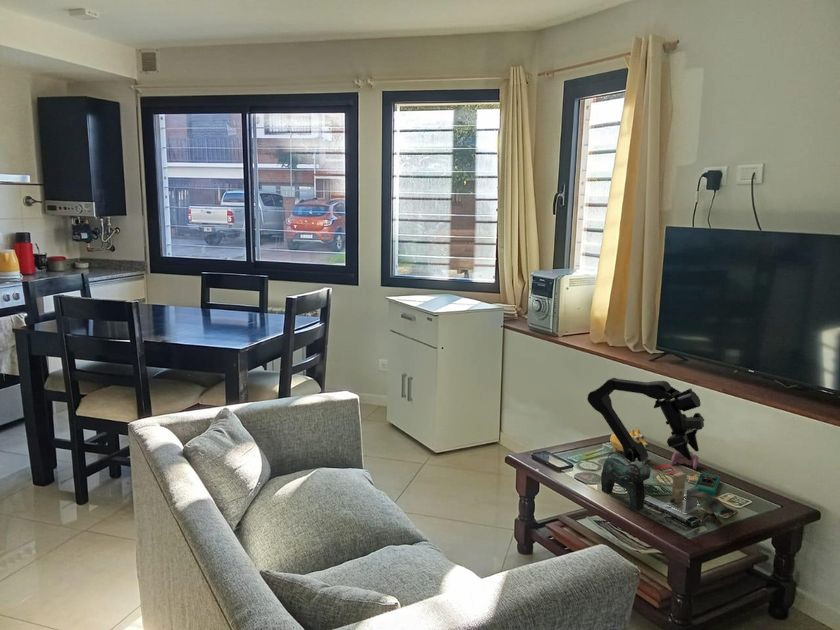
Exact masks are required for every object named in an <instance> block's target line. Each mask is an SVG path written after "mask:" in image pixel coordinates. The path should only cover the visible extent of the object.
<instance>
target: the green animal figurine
mask: <svg viewBox="0 0 840 630" xmlns="http://www.w3.org/2000/svg"><path fill="white" fill-rule="evenodd" d="M628 450H629V451H631V452H632V450H631V449H628ZM628 450H626V452H627V451H628ZM613 454H617V455H615V456H611V455H613ZM632 454H633V452H632ZM610 456H611V457H610ZM651 473H652V472H651V468H650V467H649V465H648V462H647V461H644V462H639V461H638V459H637V458H636V459H635V461H634V462H633V459H632V461H629V460H628V459H626V458H625V456H624V455H622V454H621V453H619V452H618V451H617V452H613V451H611V452H610V453H609V454H608V456H607V459H606V460H604V462H603V466H602V469H601V473H600V477H601V478H600V483H601V485H600V486H601V492H603V493H604V494H606V495H609V494H612V493H613V489H614V486H615V484H617V485H618V486H619V487H620V488H623V489H625V490H626V492H627V494H628V497H629V508H630V509H633V510H634V511H636V512H637V511H638V512H639V511H642V510H644V509H645V507H644V506H645V499H646V498H645V497H646V495H645V482H644V481H646V480H648V479H650V477H651Z"/></svg>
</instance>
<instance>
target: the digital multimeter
mask: <svg viewBox="0 0 840 630" xmlns="http://www.w3.org/2000/svg"><path fill="white" fill-rule="evenodd" d="M720 481H721V478H720V476H718V475H715V474H711V473H706V472H700V473H699V474H698V478H697V479H696V482H695V484H694V485H693V488H694V487H698V488H699V489H698V493H699V492H706V493H707V494H708V495H710V496H712V497H715V495H716V492H717V489H718V487H719V484H720Z"/></svg>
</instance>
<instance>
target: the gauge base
mask: <svg viewBox="0 0 840 630" xmlns="http://www.w3.org/2000/svg"><path fill="white" fill-rule="evenodd" d="M698 489H699V488H698V487H694V486H693V487H692V488H689V489H686V495H685V496H686V498H685V499H684V501H681V502H679V503H674V502H673V503H670V501H668V502H666V505H669V506H671V507H673V508H675V509H677V510H679V511H681V512H684V513H688V514H690V513H693V512H696V511H698V509H699V506H698V499H697V498H695V497H689V496H691V495H695V494H697V493H698Z"/></svg>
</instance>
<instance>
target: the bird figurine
mask: <svg viewBox="0 0 840 630" xmlns="http://www.w3.org/2000/svg"><path fill="white" fill-rule="evenodd" d="M689 497H695V498H697V499H698V501H697V504H698V505H699V506H700V507H701V509H702V510H704V513H703V515H701V517H700V520H701V521H702V522H705V520H706V519H707V517H709V518H711V519H712V521H713V522H714V523H715V525H716V526H718V527H719V528H722V527H724V523H723V522H722V521H721V520H720V519H719V517H720V516H723V515H724V516H725V515H727V514H728V515H732V514H736V512H735V510H734V509H732V508H729V507H727V506H726V505H725V504H723V502H721V500H720V499H718V498H716V497H715V496H711V495H708V494H707V493H706V492H699V493H697V494H695V495H691V496H689ZM716 515H717V516H716Z"/></svg>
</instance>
